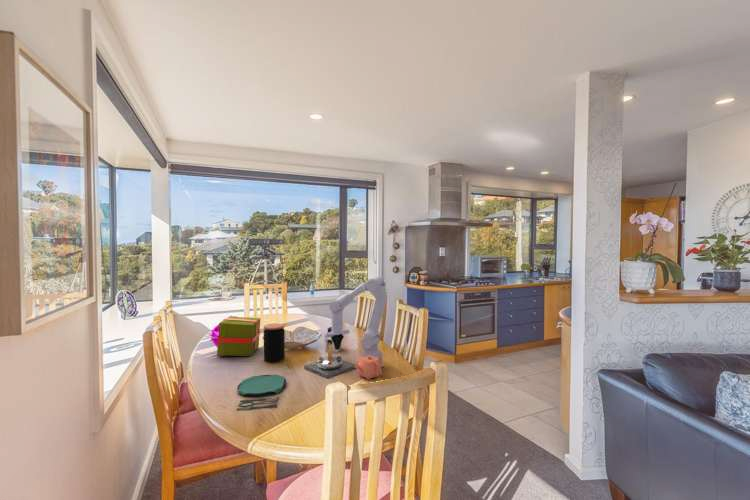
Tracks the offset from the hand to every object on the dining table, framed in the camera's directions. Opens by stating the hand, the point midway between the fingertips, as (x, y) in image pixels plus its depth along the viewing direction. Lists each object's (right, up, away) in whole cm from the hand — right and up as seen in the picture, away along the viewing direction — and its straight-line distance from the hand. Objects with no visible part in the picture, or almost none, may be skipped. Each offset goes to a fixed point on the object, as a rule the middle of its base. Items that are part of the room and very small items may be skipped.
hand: (337, 349), depth 181 cm
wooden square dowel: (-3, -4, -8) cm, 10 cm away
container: (-4, -6, +18) cm, 20 cm away
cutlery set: (-27, -7, -39) cm, 48 cm away
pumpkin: (+16, -6, -22) cm, 28 cm away
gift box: (-59, -6, +14) cm, 61 cm away
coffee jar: (-34, -6, +2) cm, 34 cm away
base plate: (-2, -6, -11) cm, 13 cm away
